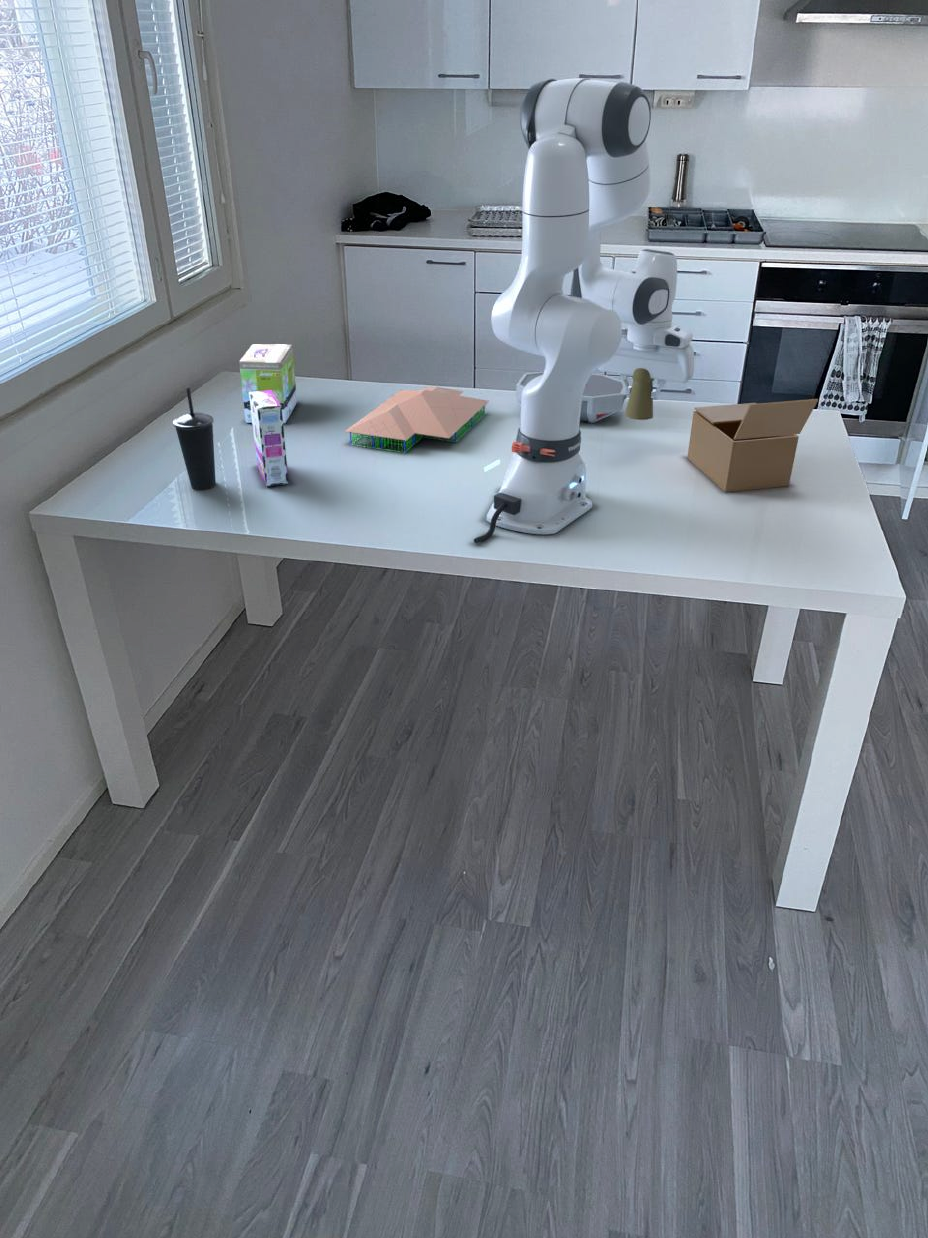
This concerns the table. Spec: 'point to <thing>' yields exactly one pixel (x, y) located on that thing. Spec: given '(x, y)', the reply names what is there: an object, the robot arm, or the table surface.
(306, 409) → the table surface
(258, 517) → the table surface
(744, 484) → the carton
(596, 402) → the first aid kit
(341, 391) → the table surface
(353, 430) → the house
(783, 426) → the flap
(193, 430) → the drinking cup
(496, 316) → the robot arm
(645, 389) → the cork
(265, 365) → the tea box
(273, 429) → the candy bar box
